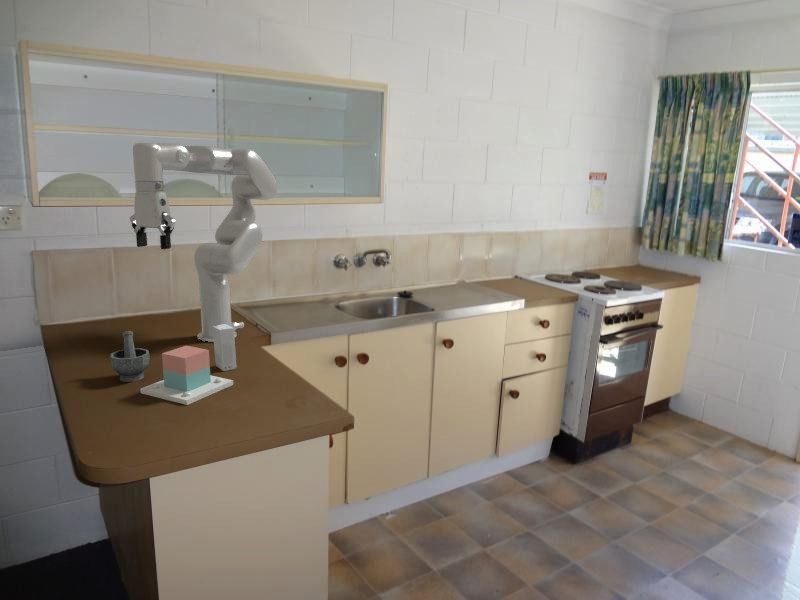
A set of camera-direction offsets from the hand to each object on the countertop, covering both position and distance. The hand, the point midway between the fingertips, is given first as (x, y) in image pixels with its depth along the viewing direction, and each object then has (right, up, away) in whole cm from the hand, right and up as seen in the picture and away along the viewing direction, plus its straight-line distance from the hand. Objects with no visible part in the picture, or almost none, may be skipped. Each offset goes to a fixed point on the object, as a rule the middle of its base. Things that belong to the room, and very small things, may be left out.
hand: (153, 247), depth 177 cm
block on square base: (+17, -38, -19) cm, 46 cm away
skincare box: (+22, -35, -3) cm, 41 cm away
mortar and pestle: (-1, -36, -11) cm, 38 cm away
